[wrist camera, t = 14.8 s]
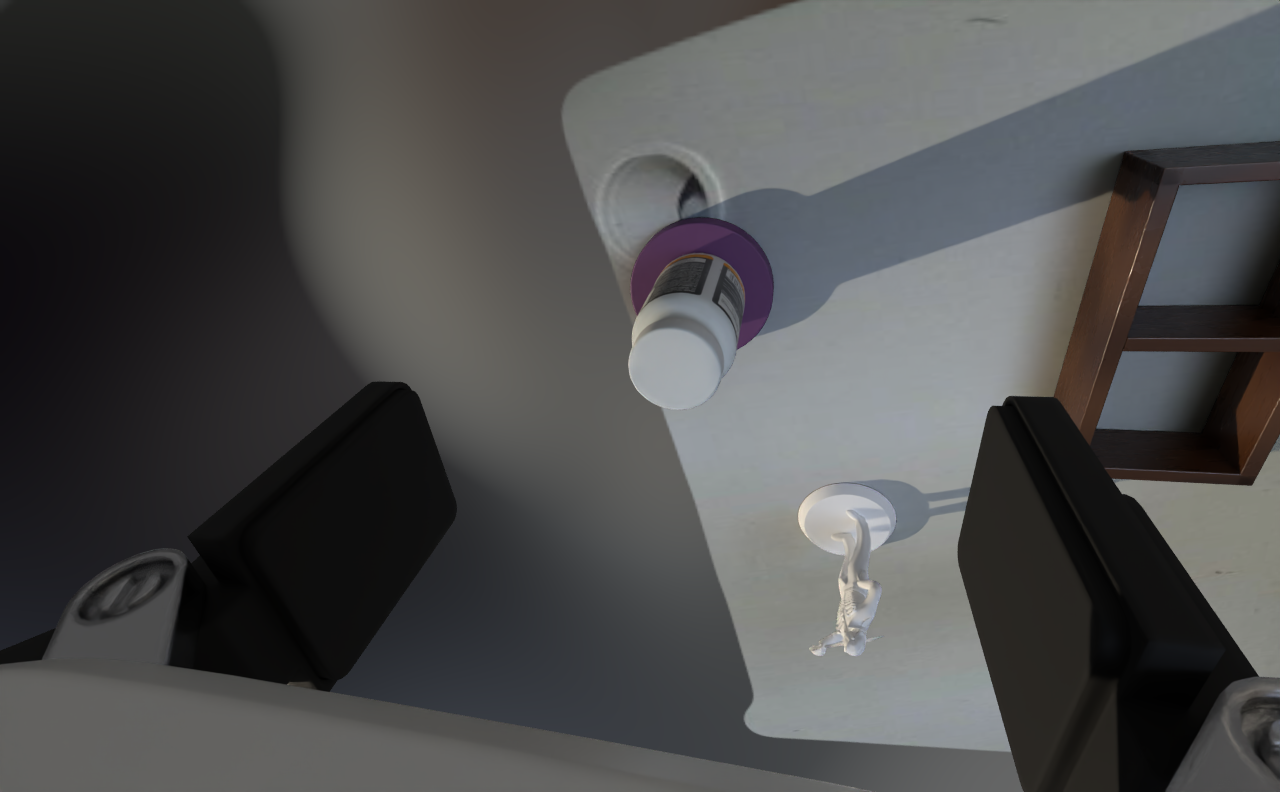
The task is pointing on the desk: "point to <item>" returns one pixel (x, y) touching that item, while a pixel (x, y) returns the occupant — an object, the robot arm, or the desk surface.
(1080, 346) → the rack
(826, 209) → the desk surface
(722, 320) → the pill bottle
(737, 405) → the desk surface
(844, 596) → the figurine
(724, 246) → the disc
